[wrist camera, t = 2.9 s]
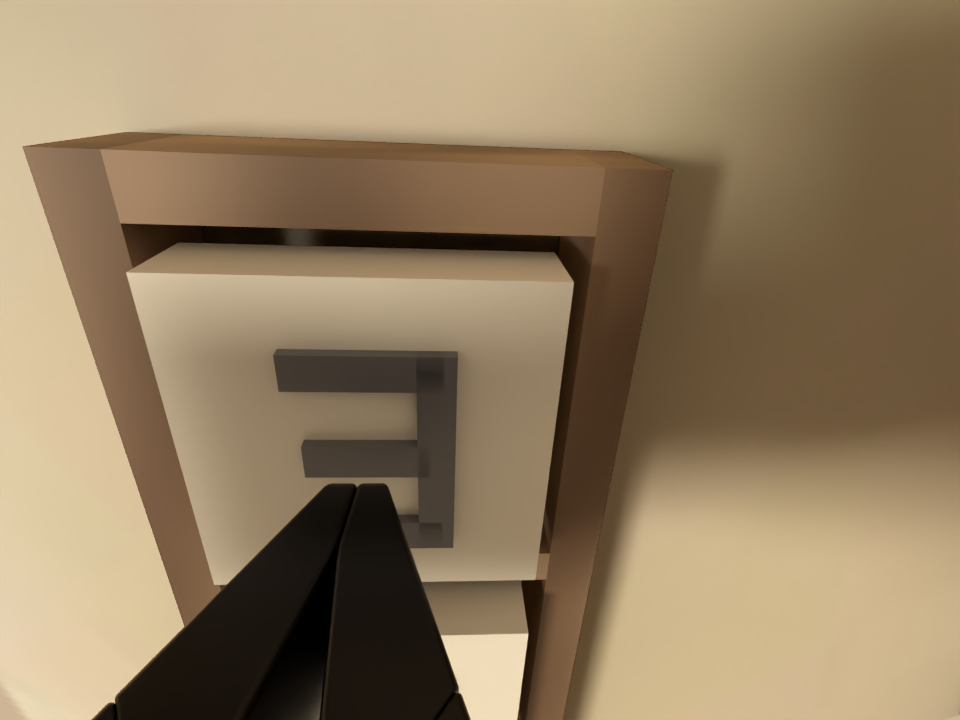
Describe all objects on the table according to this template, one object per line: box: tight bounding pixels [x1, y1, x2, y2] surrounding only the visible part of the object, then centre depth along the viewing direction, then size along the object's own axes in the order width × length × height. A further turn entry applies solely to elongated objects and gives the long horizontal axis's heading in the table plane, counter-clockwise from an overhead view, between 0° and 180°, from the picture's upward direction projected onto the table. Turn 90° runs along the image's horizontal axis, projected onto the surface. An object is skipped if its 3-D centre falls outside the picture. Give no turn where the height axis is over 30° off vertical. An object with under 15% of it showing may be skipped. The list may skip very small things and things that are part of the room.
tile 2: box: [422, 580, 528, 720], centre depth 13 cm, size 6×6×2 cm
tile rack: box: [23, 132, 673, 720], centre depth 14 cm, size 9×24×2 cm, turn 178°
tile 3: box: [126, 243, 574, 585], centre depth 9 cm, size 6×6×2 cm
